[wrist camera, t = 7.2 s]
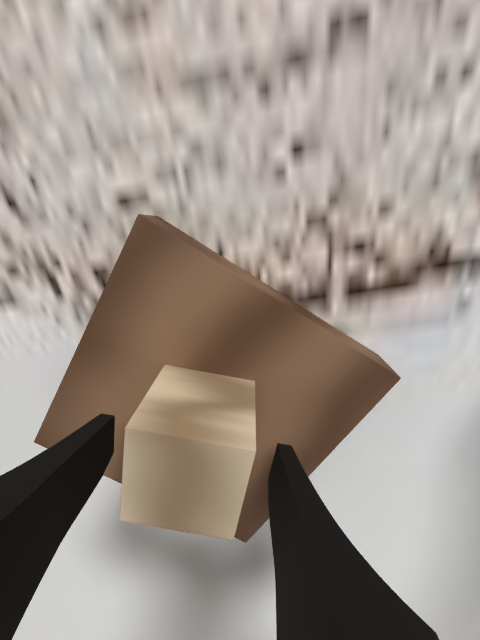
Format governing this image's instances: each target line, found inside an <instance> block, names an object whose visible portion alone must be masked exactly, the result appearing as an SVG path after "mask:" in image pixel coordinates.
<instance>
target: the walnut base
mask: <svg viewBox="0 0 480 640" xmlns="http://www.w3.org/2000/svg"><path fill="white" fill-rule="evenodd" d="M164 365H170V366H175V367H181V368H186V369H191V370H197V371H202V372H208V373H213V374H219V375H224V376H230V377H235V378H241V379H246V380H251V381H255V411H256V454H255V458H254V461H253V465H252V469H251V473H250V477H249V481H248V485H247V489H246V493H245V497H244V501H243V504H242V508H241V512H240V516H239V520H238V524H237V528H236V532H235V536H234V537H235V538H237V539H239V540H241V541H243V542H245V543H246V542H247V541H248V540H249V539H250V538H251V537H252V536H253V534H254V533H255V532H256V531H257V530H258V529H259V528H260V527H261V526H262V525H263V524H264V523H265V522H266V521H267V520H268V519H269V507H268V477H269V473H270V469H271V466H272V462H273V458H274V454H275V451H276V447H277V443H280V444H286V445H291V446H292V447H293V449H294V451H295V453H296V455H297V457H298V459H299V461H300V463H301V465H302V467H303V469H304V471H305V472H306V474H307V476H309V475H310V474H311V473H312V472H313V471H314V470H315V469H316V468H317V467H318V466H319V465H320V463H321V462H322V461H323V460H324V459H325V458H326V457H327V456H328V455H329V454H330V453H331V452H332V451H333V450H334V449H335V448H336V446H337V445H338V444H339V443H340V442H341V441H342V440H343V439H344V438H345V437H346V436H347V435H348V434H349V433H350V432H351V431H352V430H353V428H354V427H355V426H356V425H357V424H358V423H359V422H360V421H361V420H362V419H363V418H364V417H365V416H366V415H367V414H368V413H369V412H370V410H371V409H372V408H373V407H374V406H375V405H376V404H377V403H378V402H379V401H380V400H381V399H382V398H383V397H384V396H385V395H386V393H387V392H388V391H389V390H390V389H391V388H392V387H393V386H394V385H395V384H396V383H397V382H398V381H399V380H400V379H401V378H400V377H399V376H398V375H397V374H396V373H395V371H394V370H393V369H392V368H391V367H390V366H389V365H388V364H387V363H386V362H385V361H384V360H383V359H382V358H381V357H380V356H379V355H377V354H376V353H374V352H373V351H371V350H369V349H368V348H366V347H365V346H363V345H362V344H360V343H358V342H357V341H355V340H354V339H352V338H350V337H349V336H347V335H346V334H344V333H343V332H341V331H339V330H338V329H336V328H335V327H333V326H331V325H330V324H328V323H327V322H325V321H323V320H322V319H320V318H319V317H317V316H316V315H314V314H312V313H311V312H309V311H308V310H306V309H304V308H303V307H301V306H300V305H298V304H296V303H295V302H293V301H292V300H290V299H289V298H287V297H285V296H284V295H282V294H281V293H279V292H277V291H276V290H274V289H273V288H271V287H269V286H268V285H266V284H265V283H263V282H262V281H260V280H258V279H257V278H255V277H254V276H252V275H250V274H249V273H247V272H246V271H244V270H242V269H241V268H239V267H238V266H236V265H235V264H233V263H231V262H230V261H228V260H227V259H225V258H223V257H222V256H220V255H219V254H217V253H215V252H214V251H212V250H211V249H209V248H208V247H206V246H204V245H203V244H201V243H200V242H198V241H196V240H195V239H193V238H192V237H190V236H188V235H187V234H185V233H184V232H182V231H181V230H179V229H177V228H176V227H174V226H173V225H171V224H169V223H168V222H166V221H165V220H163V219H161V218H160V217H158V216H150V215H141V214H138V216H137V219H136V221H135V223H134V225H133V227H132V229H131V232H130V234H129V236H128V238H127V240H126V243H125V245H124V247H123V249H122V251H121V253H120V256H119V258H118V260H117V262H116V264H115V266H114V269H113V271H112V273H111V275H110V277H109V280H108V282H107V284H106V286H105V288H104V290H103V293H102V295H101V297H100V299H99V301H98V303H97V306H96V308H95V310H94V312H93V314H92V317H91V319H90V321H89V323H88V325H87V327H86V330H85V332H84V334H83V336H82V338H81V340H80V343H79V345H78V347H77V349H76V351H75V354H74V356H73V358H72V360H71V362H70V364H69V367H68V369H67V371H66V373H65V375H64V377H63V380H62V382H61V384H60V386H59V388H58V391H57V393H56V395H55V397H54V399H53V401H52V404H51V406H50V408H49V410H48V412H47V414H46V417H45V419H44V421H43V423H42V425H41V428H40V430H39V432H38V434H37V436H36V438H35V441H34V442H35V443H37V444H39V445H41V446H43V447H45V448H50V447H52V446H53V445H55V444H56V443H58V442H59V441H61V440H62V439H64V438H65V437H67V436H68V435H70V434H71V433H73V432H74V431H76V430H77V429H79V428H80V427H82V426H83V425H85V424H86V423H87V422H89V421H90V420H92V419H93V418H95V417H96V416H98V415H99V414H101V413H102V414H108V415H114V416H115V432H114V453H113V456H112V458H111V460H110V462H109V464H108V466H107V468H106V470H105V472H104V474H103V475H104V476H106V477H109V478H111V479H113V480H115V481H117V482H119V483H121V484H122V472H123V454H124V437H125V427H126V425H127V424H128V422H129V421H130V419H131V417H132V416H133V414H134V413H135V411H136V410H137V408H138V406H139V405H140V403H141V402H142V400H143V398H144V397H145V395H146V394H147V392H148V391H149V389H150V387H151V386H152V384H153V383H154V381H155V380H156V378H157V376H158V375H159V373H160V372H161V370H162V368H163V367H164Z"/></svg>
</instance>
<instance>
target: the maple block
mask: <svg viewBox="0 0 480 640" xmlns="http://www.w3.org/2000/svg"><path fill="white" fill-rule="evenodd" d="M255 454H256V411H255V381H251V380H246V379H241V378H235V377H230V376H224V375H219V374H213V373H208V372H202V371H197V370H191V369H186V368H181V367H175V366H170V365H164V367H163V368H162V370H161V372H160V373H159V375H158V376H157V378H156V380H155V381H154V383H153V384H152V386H151V387H150V389H149V391H148V392H147V394H146V395H145V397H144V398H143V400H142V402H141V403H140V405H139V406H138V408H137V410H136V411H135V413H134V414H133V416H132V417H131V419H130V421H129V422H128V424H127V425H126V427H125V437H124V454H123V472H122V489H121V506H120V521H124V522H130V523H136V524H142V525H148V526H153V527H159V528H165V529H171V530H177V531H182V532H188V533H194V534H200V535H205V536H211V537H217V538H223V539H229V540H234V536H235V532H236V528H237V524H238V520H239V516H240V512H241V508H242V504H243V501H244V497H245V493H246V489H247V485H248V481H249V477H250V473H251V469H252V465H253V461H254V458H255Z"/></svg>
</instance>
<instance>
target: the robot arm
mask: <svg viewBox="0 0 480 640" xmlns="http://www.w3.org/2000/svg"><path fill="white" fill-rule="evenodd" d="M114 432H115V416H114V415H108V414H102V413H101V414H99V415H98V416H96V417H95V418H93V419H92V420H90V421H89V422H87V423H86V424H85V425H83V426H82V427H80V428H79V429H77V430H76V431H74V432H73V433H71V434H70V435H68V436H67V437H65V438H64V439H62V440H61V441H59V442H58V443H56V444H55V445H53V446H52V447H50V448H48V449H47V450H45V451H43V452H42V453H40V454H39V455H37V456H35V457H34V458H32V459H30V460H29V461H27V462H25V463H23V464H22V465H20V466H18V467H16V468H14V469H13V470H11V471H9V472H7V473H5V474H3V475H1V476H0V640H12V638H13V636H14V634H15V631H16V629H17V627H18V625H19V623H20V621H21V619H22V617H23V615H24V613H25V611H26V609H27V607H28V605H29V603H30V601H31V599H32V597H33V595H34V593H35V591H36V589H37V587H38V585H39V583H40V581H41V579H42V577H43V575H44V573H45V572H46V570H47V568H48V566H49V564H50V562H51V560H52V558H53V556H54V555H55V553H56V551H57V549H58V547H59V545H60V543H61V542H62V540H63V538H64V537H65V535H66V533H67V531H68V530H69V528H70V527H71V525H72V524H73V522H74V520H75V519H76V517H77V516H78V514H79V513H80V511H81V509H82V508H83V506H84V505H85V503H86V502H87V500H88V498H89V497H90V495H91V494H92V492H93V490H94V489H95V487H96V486H97V484H98V483H99V481H100V479H101V478H102V476H103V474H104V472H105V470H106V468H107V466H108V464H109V462H110V460H111V458H112V456H113V453H114ZM268 507H269V517H270V527H271V537H272V546H273V556H274V565H275V579H276V620H277V640H439V638H438V636H437V634H436V632H434V631H433V630H432V629H431V628H430V627H429V626H428V625H427V624H426V623H425V622H424V621H423V620H422V619H421V618H420V617H419V616H418V615H417V614H416V613H415V612H414V611H413V610H412V609H411V608H410V607H409V606H408V605H407V604H406V603H404V602H403V601H402V599H401V598H400V597H399V596H398V595H397V594H396V593H395V592H394V591H393V590H392V589H391V588H390V587H389V586H388V585H387V584H386V583H385V582H384V581H383V579H382V578H381V577H380V576H379V575H378V574H377V573H376V572H375V570H374V569H373V568H372V567H371V566H370V565H369V563H368V562H367V561H366V560H365V559H364V558H363V556H362V555H361V554H360V553H359V552H358V550H357V549H356V548H355V547H354V546H353V544H352V543H351V542H350V540H349V539H348V538H347V536H346V535H345V534H344V532H343V531H342V530H341V528H340V527H339V526H338V524H337V523H336V521H335V520H334V518H333V517H332V515H331V514H330V512H329V511H328V509H327V508H326V506H325V505H324V503H323V502H322V500H321V498H320V497H319V495H318V493H317V492H316V490H315V488H314V487H313V485H312V483H311V481H310V480H309V478H308V476H307V474H306V472H305V471H304V469H303V467H302V465H301V463H300V461H299V459H298V457H297V455H296V453H295V451H294V449H293V447H292V446H291V445H286V444H280V443H277V447H276V451H275V454H274V458H273V462H272V466H271V469H270V473H269V477H268Z"/></svg>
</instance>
